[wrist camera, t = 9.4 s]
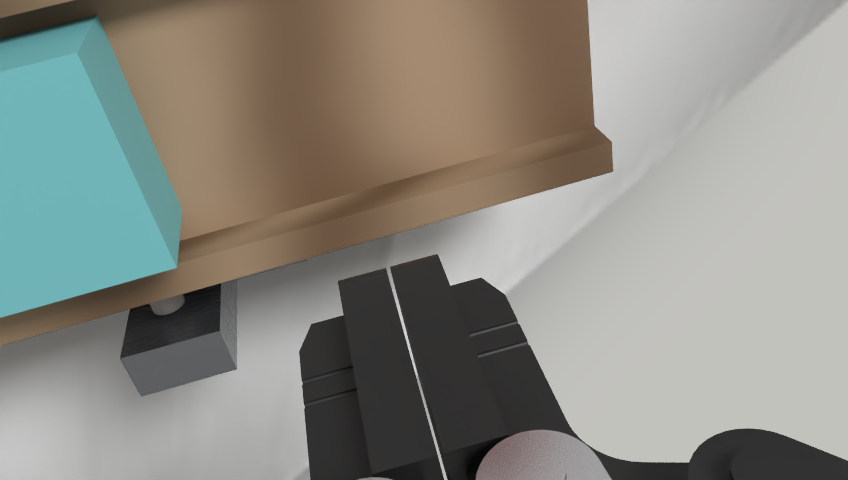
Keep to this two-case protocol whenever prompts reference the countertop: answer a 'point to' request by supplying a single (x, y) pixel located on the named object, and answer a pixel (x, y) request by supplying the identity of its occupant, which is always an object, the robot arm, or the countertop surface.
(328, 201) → the beam
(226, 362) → the pivot stand
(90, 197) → the teal block
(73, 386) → the countertop surface
